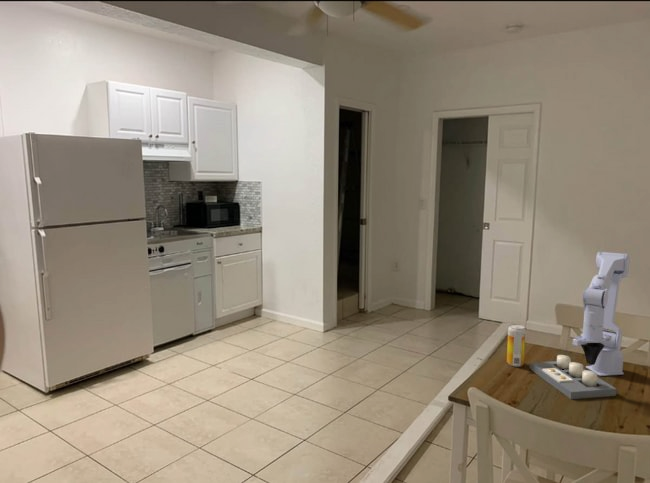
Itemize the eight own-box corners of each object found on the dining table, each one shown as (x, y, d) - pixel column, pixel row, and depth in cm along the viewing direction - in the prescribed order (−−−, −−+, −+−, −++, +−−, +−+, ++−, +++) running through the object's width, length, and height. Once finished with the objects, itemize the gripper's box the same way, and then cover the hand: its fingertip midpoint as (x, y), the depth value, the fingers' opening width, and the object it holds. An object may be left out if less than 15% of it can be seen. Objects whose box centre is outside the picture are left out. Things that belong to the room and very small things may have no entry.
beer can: (520, 361, 181) (522, 324, 179) (525, 367, 175) (527, 329, 173) (504, 360, 182) (506, 323, 180) (509, 367, 176) (511, 329, 174)
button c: (590, 380, 158) (591, 370, 158) (599, 386, 154) (600, 375, 154) (578, 381, 158) (579, 370, 157) (587, 387, 154) (588, 376, 153)
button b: (577, 372, 165) (578, 361, 165) (585, 377, 161) (586, 366, 160) (565, 372, 165) (566, 362, 164) (573, 378, 160) (574, 367, 160)
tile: (555, 369, 167) (555, 367, 167) (573, 381, 157) (573, 379, 157) (542, 370, 167) (542, 368, 167) (559, 382, 157) (559, 380, 157)
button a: (565, 364, 172) (565, 354, 172) (572, 369, 168) (573, 359, 167) (553, 365, 172) (554, 355, 171) (561, 369, 167) (561, 359, 167)
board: (569, 366, 176) (569, 360, 175) (616, 395, 152) (616, 388, 152) (529, 368, 174) (530, 362, 174) (570, 399, 150) (571, 392, 150)
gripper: (599, 318, 159) (597, 356, 161) (566, 323, 155) (563, 362, 157) (618, 324, 152) (615, 364, 154) (583, 329, 148) (581, 370, 150)
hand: (590, 363), depth 155 cm, fingers closed
